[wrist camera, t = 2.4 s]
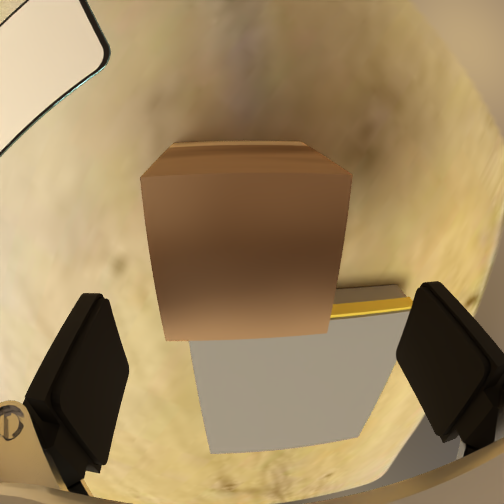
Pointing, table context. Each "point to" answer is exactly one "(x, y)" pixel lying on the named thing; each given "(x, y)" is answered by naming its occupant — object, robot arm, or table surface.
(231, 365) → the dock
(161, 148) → the table surface
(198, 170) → the brown wooden block
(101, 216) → the table surface
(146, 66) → the table surface
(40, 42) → the smartphone
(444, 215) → the table surface
